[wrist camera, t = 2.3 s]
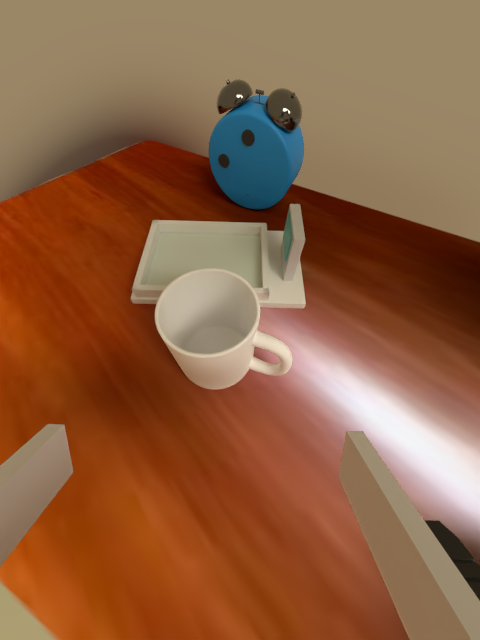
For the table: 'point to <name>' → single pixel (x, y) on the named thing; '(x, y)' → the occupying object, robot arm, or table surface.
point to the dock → (225, 257)
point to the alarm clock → (256, 144)
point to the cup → (216, 328)
